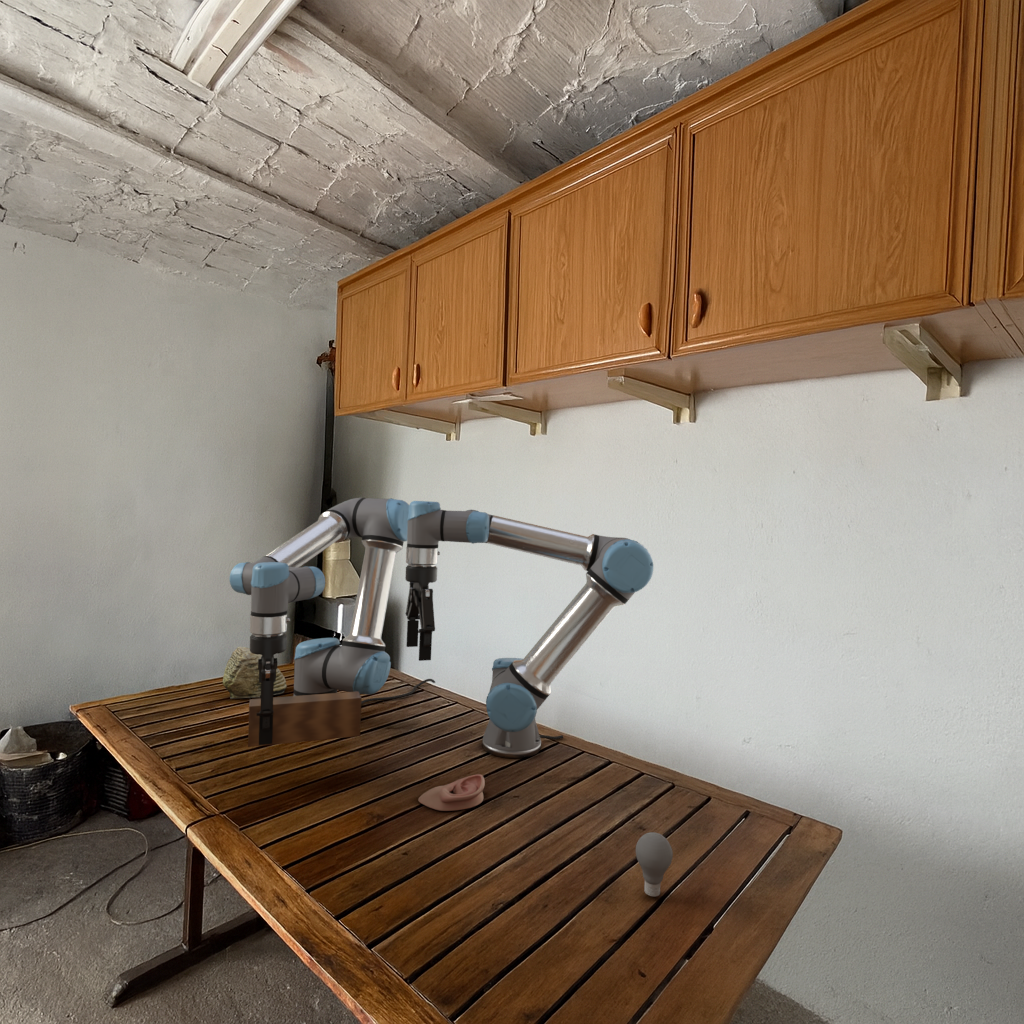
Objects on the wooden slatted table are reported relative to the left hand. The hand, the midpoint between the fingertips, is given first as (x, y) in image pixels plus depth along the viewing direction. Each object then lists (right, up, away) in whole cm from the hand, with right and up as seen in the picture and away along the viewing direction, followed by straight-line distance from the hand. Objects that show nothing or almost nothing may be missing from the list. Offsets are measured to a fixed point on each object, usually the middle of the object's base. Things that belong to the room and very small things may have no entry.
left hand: (265, 738), depth 139 cm
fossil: (-26, -7, +59) cm, 65 cm away
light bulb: (+77, -14, -34) cm, 86 cm away
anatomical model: (+41, -12, -4) cm, 43 cm away
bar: (+8, -1, +3) cm, 8 cm away
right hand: (+32, +16, +13) cm, 38 cm away
